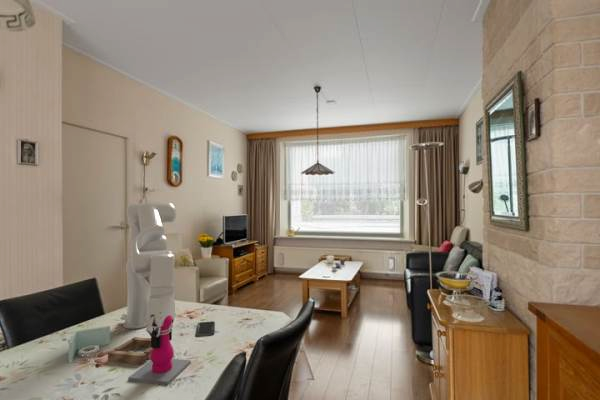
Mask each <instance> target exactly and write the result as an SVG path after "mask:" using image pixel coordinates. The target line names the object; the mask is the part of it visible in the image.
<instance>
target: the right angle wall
mask: <svg viewBox="0 0 600 400" xmlns="http://www.w3.org/2000/svg"><path fill="white" fill-rule="evenodd" d="M110 335H111V326H110V325H107V326H101V327H93V328H87V329H79V330H74V331H73V333H72V335H71V338H70V341H69V342H68V362H69V361H72V362H73V360H74V357H73V356H75V355H74V354H76V352H75V351H77V350H78V351H77V352H78V353H79V354H78V353H77V356H78V355H80V356H79V357H81V356H82V355H83V356H87V355H92V356H93V355H95V354H94V353H96V354H97V353H98V352H97V351H99V352H100V346H98V345H101V346H105V345H104V344H106V345H110V342H111V341H110V340H111V336H110ZM79 348H81V349H79ZM76 349H77V350H76ZM87 350H89V351H87ZM84 351H86V352H84ZM87 357H88V356H87ZM72 359H73V360H72Z"/></svg>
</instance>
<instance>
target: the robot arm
mask: <svg viewBox="0 0 600 400" xmlns="http://www.w3.org/2000/svg"><path fill="white" fill-rule="evenodd" d="M126 216H127V217H126V218H127V219H128V222H129V224H130V227H131V228H130V247H129V259H128V260H127V261H126V264H125V272H126V281H127V302H126V303H127V304H126V306H127V309H126V311H127V313H122V314H121V316H120V320H122V321H123V320H124V322H123V324H122V327H123V328H125V329H127V330H135V329H142V328H145V331H146V332H147V334H148V335H149V337H150V338H151V348H156V349H159V348H161V336H159V335H160V330H161V326H163V323H164V320H165V318H166V317H167V316H169V315H171V317H172V324H171V325H170V327H171V329H170V330H171V331H170V332H169V340H170V341H172V337H173V336H172V335H173V331H172V328H173V326H174V325H173V323H174V319H175V317H176V301H175V263H176V257H175V254H174V253H173V251H171V250H168V249H169V248H168V247H169V246H168V245H169V244H168V243H169V242H168V238H167V236H165V235H164V234H165V231H166V230H165V226H164V223H173V222H175V220H176V217H177V209H176V207H175V205H174V204H173V203H172V202H155V201H154V202H151V201H150V202H149V201H148V202H143V203H142V202H141V203H140V202H139V203H130V204H129V205H128V206H127V207H126ZM146 277H150V278H149V279H150V280H149V282H148V280H146V279H145V278H146ZM154 324H157V326H154ZM155 328H157V332H156V331H155Z"/></svg>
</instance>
